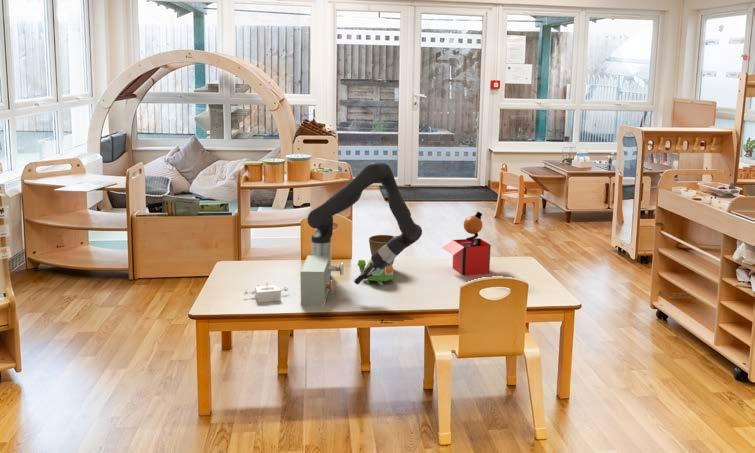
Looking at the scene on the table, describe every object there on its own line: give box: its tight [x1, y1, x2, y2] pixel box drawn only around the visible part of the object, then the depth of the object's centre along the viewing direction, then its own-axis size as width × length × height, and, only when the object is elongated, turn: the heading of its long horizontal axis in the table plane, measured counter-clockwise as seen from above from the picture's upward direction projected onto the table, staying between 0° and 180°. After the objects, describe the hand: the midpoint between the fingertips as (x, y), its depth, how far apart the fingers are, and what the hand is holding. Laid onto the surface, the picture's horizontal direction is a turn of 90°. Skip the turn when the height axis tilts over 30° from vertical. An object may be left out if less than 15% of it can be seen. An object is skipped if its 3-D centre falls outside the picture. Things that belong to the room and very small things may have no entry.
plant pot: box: [368, 234, 396, 266], centre depth 381 cm, size 15×15×16 cm
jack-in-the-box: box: [442, 211, 493, 277], centre depth 379 cm, size 26×16×30 cm, turn 106°
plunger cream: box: [328, 261, 345, 276], centre depth 345 cm, size 13×6×6 cm, turn 88°
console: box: [300, 254, 331, 306], centre depth 340 cm, size 10×26×15 cm, turn 178°
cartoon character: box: [243, 282, 289, 303], centre depth 340 cm, size 8×20×16 cm
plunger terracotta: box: [325, 279, 335, 294], centre depth 334 cm, size 13×6×6 cm, turn 88°
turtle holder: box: [356, 259, 394, 286], centre depth 363 cm, size 12×18×12 cm
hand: (355, 282), depth 335 cm, fingers closed
